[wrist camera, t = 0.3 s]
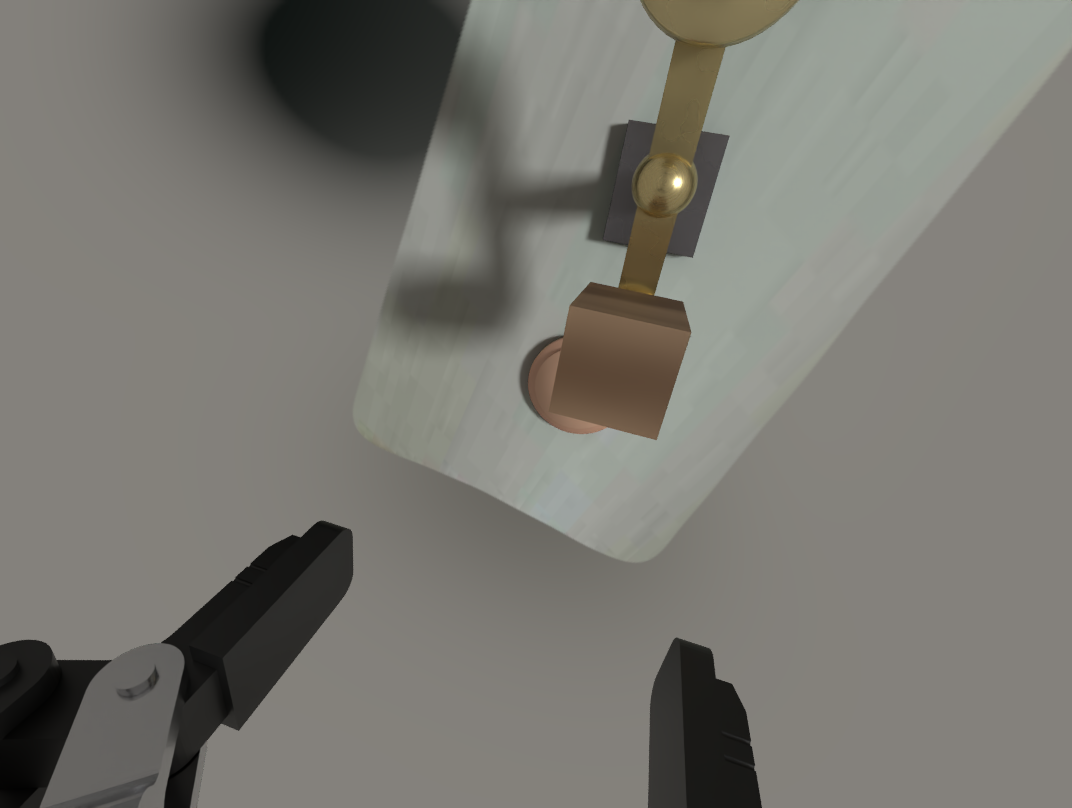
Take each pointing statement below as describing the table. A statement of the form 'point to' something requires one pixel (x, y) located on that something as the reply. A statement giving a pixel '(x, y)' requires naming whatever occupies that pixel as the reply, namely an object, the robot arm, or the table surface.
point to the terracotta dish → (542, 391)
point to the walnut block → (620, 359)
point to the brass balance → (678, 136)
